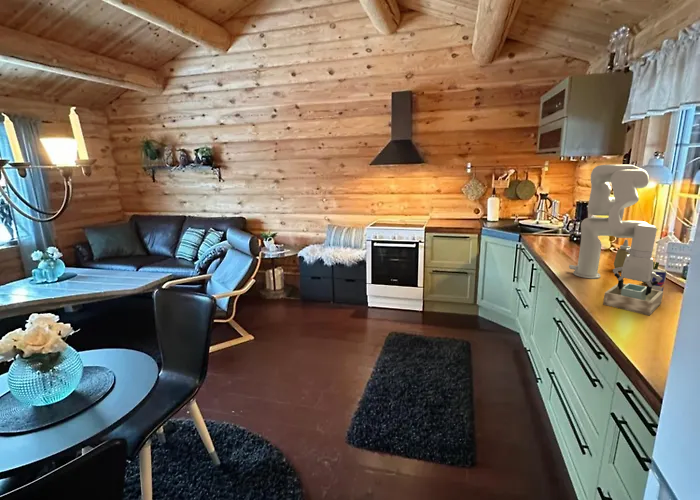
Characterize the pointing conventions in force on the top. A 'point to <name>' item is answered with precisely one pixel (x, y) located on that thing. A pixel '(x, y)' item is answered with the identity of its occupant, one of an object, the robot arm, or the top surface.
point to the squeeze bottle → (621, 255)
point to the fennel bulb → (654, 268)
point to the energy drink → (661, 284)
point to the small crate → (634, 291)
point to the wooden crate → (633, 301)
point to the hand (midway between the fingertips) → (633, 291)
